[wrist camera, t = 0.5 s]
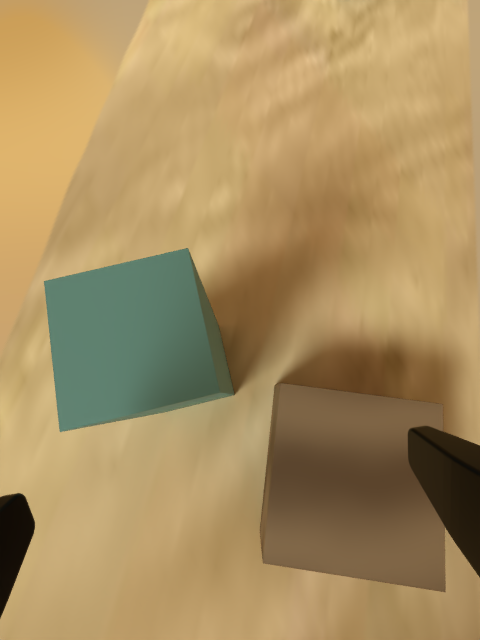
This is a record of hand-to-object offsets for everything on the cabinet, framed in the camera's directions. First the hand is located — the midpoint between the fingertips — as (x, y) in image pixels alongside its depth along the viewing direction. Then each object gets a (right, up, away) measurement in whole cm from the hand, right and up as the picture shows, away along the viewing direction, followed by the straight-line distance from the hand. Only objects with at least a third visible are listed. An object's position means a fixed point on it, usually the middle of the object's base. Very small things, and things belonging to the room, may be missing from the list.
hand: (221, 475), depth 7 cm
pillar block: (-3, 0, +15) cm, 15 cm away
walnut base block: (+7, -6, +13) cm, 16 cm away
